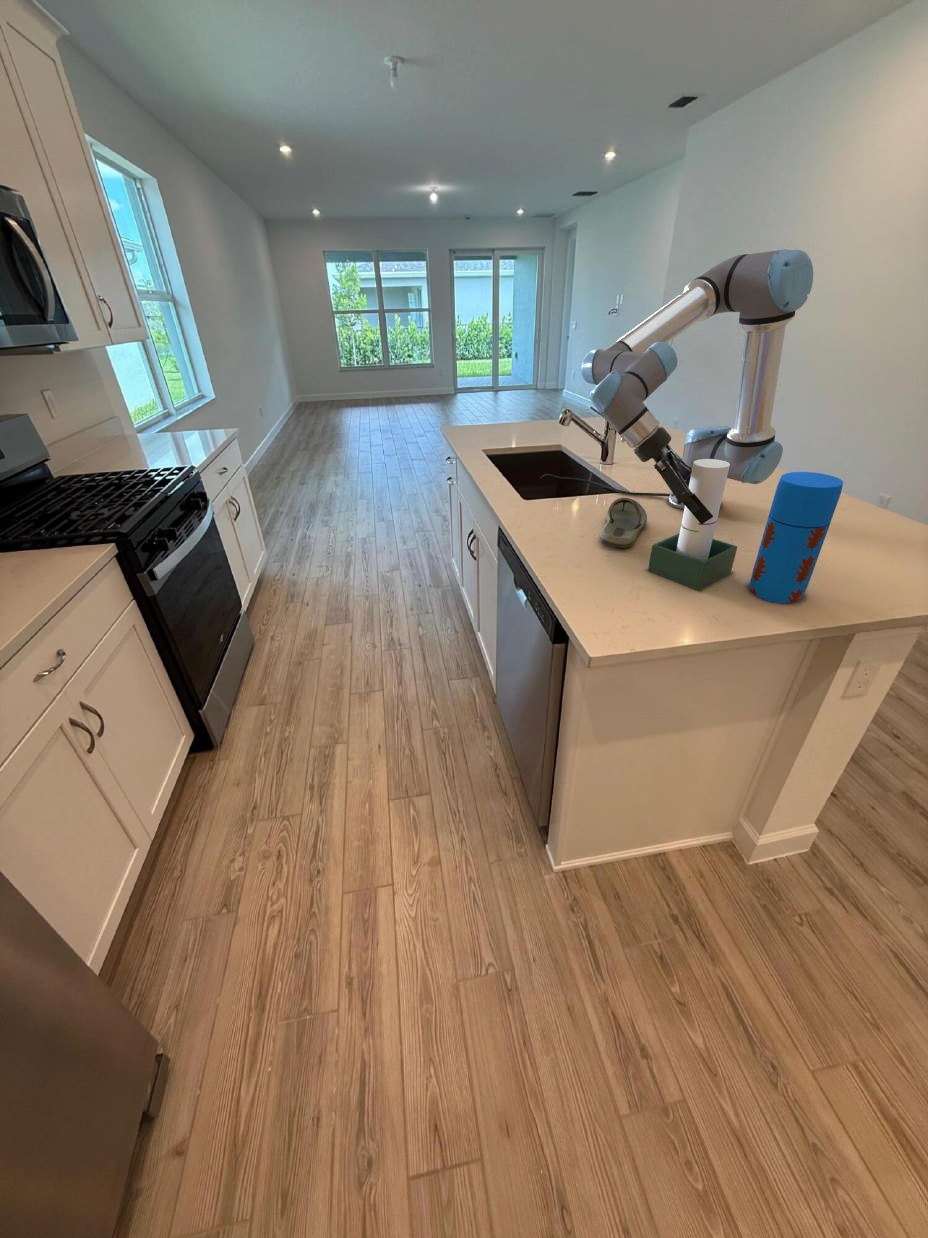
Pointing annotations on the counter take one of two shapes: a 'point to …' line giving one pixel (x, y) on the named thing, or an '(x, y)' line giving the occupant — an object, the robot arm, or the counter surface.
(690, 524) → the cylindrical container
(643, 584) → the counter surface
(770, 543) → the thermos
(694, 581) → the tray
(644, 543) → the counter surface
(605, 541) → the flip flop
